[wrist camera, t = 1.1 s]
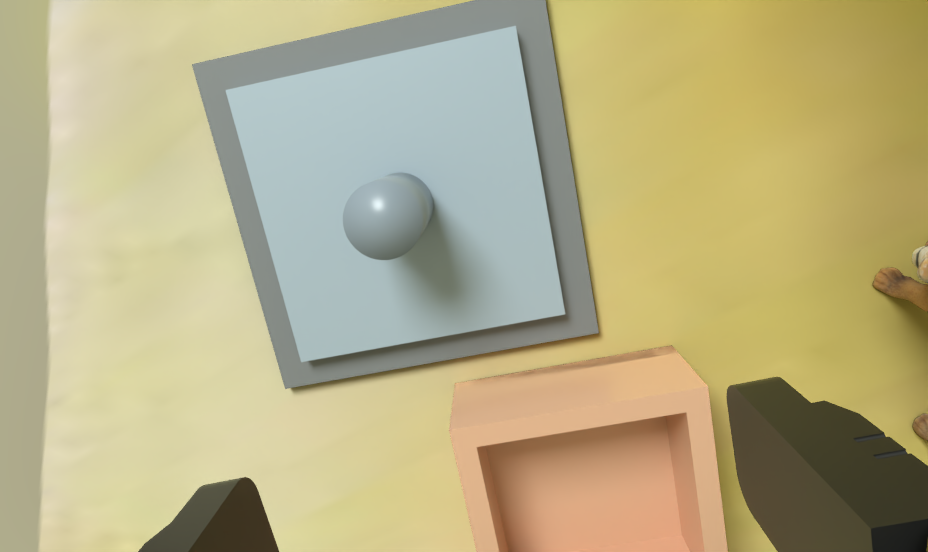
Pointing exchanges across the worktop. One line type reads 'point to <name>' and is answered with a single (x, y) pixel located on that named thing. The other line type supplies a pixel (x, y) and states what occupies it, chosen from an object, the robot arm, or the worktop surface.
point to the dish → (590, 457)
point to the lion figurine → (916, 293)
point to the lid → (402, 195)
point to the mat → (492, 9)
